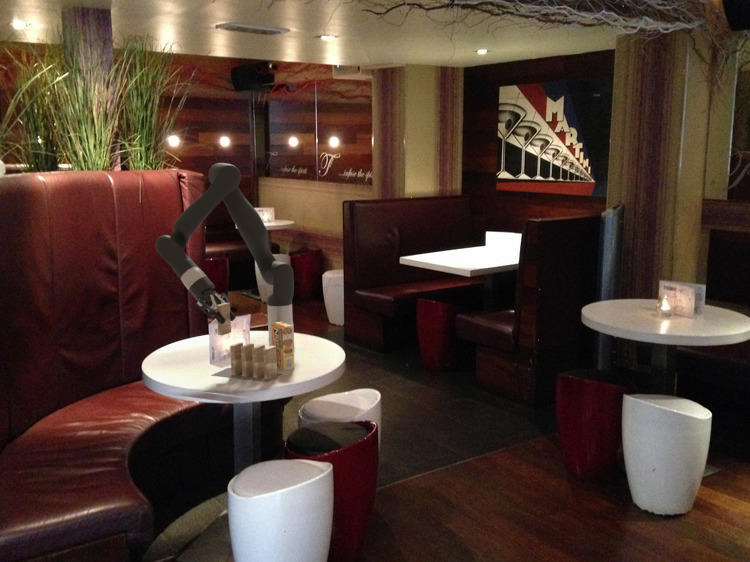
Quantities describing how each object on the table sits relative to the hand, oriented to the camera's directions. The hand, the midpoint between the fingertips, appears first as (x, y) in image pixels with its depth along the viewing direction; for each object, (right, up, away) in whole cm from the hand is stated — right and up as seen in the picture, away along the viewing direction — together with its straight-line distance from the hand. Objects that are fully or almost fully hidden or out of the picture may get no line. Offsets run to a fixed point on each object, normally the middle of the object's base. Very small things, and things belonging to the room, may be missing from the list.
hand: (228, 320), depth 237 cm
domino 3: (+7, -18, 0) cm, 19 cm away
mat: (+6, -18, 0) cm, 19 cm away
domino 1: (-2, -4, +1) cm, 5 cm away
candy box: (+17, -17, +9) cm, 26 cm away
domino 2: (+3, -18, +2) cm, 18 cm away
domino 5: (+14, -18, -4) cm, 24 cm away
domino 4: (+11, -18, -2) cm, 21 cm away
